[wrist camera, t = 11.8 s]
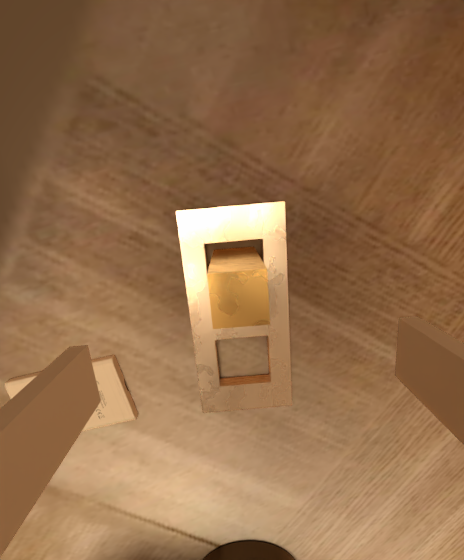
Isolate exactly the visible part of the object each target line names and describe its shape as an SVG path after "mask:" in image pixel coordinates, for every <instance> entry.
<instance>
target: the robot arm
mask: <svg viewBox="0 0 464 560" xmlns="http://www.w3.org/2000/svg"><path fill="white" fill-rule="evenodd" d="M395 376H396V377H397V378H398V379H399V380H400V381H401V382H402V383H403V384H404V385H405V386H406V387H407V388H408V389H409V390H410V391H411V392H412V393H413V394H414V395H415V396H416V397H417V398H418V399H419V400H420V401H421V402H422V403H423V404H424V405H425V406H426V407H427V408H428V409H429V410H430V411H431V412H432V413H433V414H434V415H435V416H436V417H437V418H438V419H439V420H440V421H441V422H442V423H443V424H444V425H445V426H446V427H447V428H448V429H449V430H450V431H451V432H452V433H453V434H454V435H455V436H456V437H457V438H458V439H459V440H460V441H461V442H462V443H463V444H464V343H463V342H461V341H459V340H457V339H456V338H454V337H452V336H451V335H449V334H447V333H445V332H444V331H442V330H440V329H438V328H437V327H435V326H433V325H432V324H430V323H428V322H426V321H425V320H423V319H421V318H419V317H418V316H413V317H402V318H399V323H398V337H397V352H396V367H395ZM100 402H101V399H100V395H99V391H98V386H97V382H96V378H95V374H94V370H93V365H92V361H91V357H90V353H89V349H88V345H83V346H72V347H69V348H68V349H66V350H65V351H64V352H63V353H62V354H61V355H60V356H59V357H57V358H56V359H55V360H54V361H53V362H52V363H51V364H50V365H49V366H47V367H46V368H45V369H44V370H43V371H42V372H41V373H40V374H39V375H37V376H36V377H35V378H34V379H33V380H32V381H31V382H30V383H28V384H27V385H26V386H25V387H24V388H23V389H22V390H21V391H20V392H18V393H17V394H16V395H15V396H14V397H13V398H12V399H11V400H9V401H8V402H7V403H6V404H5V405H4V406H3V407H2V408H1V409H0V557H1V556H2V554H3V553H4V551H5V549H6V548H7V546H8V545H9V543H10V542H11V540H12V539H13V537H14V535H15V534H16V532H17V531H18V529H19V528H20V526H21V525H22V523H23V521H24V520H25V518H26V517H27V515H28V514H29V512H30V511H31V509H32V507H33V506H34V504H35V503H36V501H37V500H38V498H39V497H40V495H41V493H42V492H43V490H44V489H45V487H46V486H47V484H48V483H49V481H50V480H51V478H52V476H53V475H54V473H55V472H56V470H57V469H58V467H59V466H60V464H61V462H62V461H63V459H64V458H65V456H66V455H67V453H68V452H69V450H70V448H71V447H72V445H73V444H74V442H75V441H76V439H77V438H78V436H79V434H80V433H81V431H82V430H83V428H84V427H85V425H86V424H87V422H88V420H89V419H90V417H91V416H92V414H93V413H94V411H95V410H96V408H97V406H98V405H99V403H100ZM203 560H295V559H294V558H293V557H292V556H291V555H290V554H289V553H287V552H286V551H285V550H283V549H281V548H279V547H277V546H274V545H272V544H268V543H264V542H256V541H244V542H237V543H232V544H228V545H225V546H223V547H220V548H218V549H216V550H215V551H213V552H211V553H210V554H209V555H208V556H206V557H205V558H204V559H203Z"/></svg>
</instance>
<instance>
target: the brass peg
mask: <svg viewBox="0 0 464 560" xmlns="http://www.w3.org/2000/svg"><path fill="white" fill-rule="evenodd" d="M207 279H208V288H209V297H210V307H211V316H212V326H213V329H221V328H233V327H246V326H258V325H270V315H269V294H268V273H267V268H266V266H265V264H264V263H263V261H262V259H261V258H260V256H259V254H258V253H257V251H256V250H255V248H254V246H253V247H241V248H229V249H216V250H214V251H213V254H212V258H211V261H210V265H209V268H208V272H207Z"/></svg>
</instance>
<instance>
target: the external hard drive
mask: <svg viewBox="0 0 464 560" xmlns="http://www.w3.org/2000/svg"><path fill="white" fill-rule="evenodd" d="M91 361H92V365H93V370H94V374H95V378H96V382H97V386H98V391H99V395H100V399H101V402H100V403H99V405H98V406H97V408H96V410H95V411H94V413H93V414H92V416H91V417H90V419H89V420H88V422H87V424H86V425H85V427H84V428H83V430H82V431H86V430H90V429H95V428H99V427H104V426H108V425H112V424H116V423H121V422H125V421H130V420H134V419H137V417H138V412H137V410H136V407H135V405H134V402H133V400H132V397H131V395H130V392H129V391H128V390H127V388H126V386H125V383H124V381H125V379H124V377H123V374H122V372H121V369H120V367H119V364H118V362H117V359H116V357H115V355H111V356H106V357H102V358H98V359H93V360H91ZM40 373H41V372H37V373H33V374H29V375H24V376H20V377H16V378H12V379H9V380H8V381H7V382H6V383H5V388H6V391H7V392H8V394H9V396H10V398H11V399H12V398H13V397H14V396H15V395H16V394H17V393H18V392H20V391H21V390H22V389H23V388H24V387H25V386H26V385H27V384H28V383H30V382H31V381H32V380H33V379H34V378H35V377H36V376H37V375H39V374H40Z"/></svg>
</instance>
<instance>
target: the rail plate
mask: <svg viewBox="0 0 464 560" xmlns="http://www.w3.org/2000/svg"><path fill="white" fill-rule="evenodd" d="M176 217H177V225H178V232H179V239H180V247H181V254H182V262H183V269H184V276H185V284H186V291H187V299H188V306H189V314H190V321H191V328H192V336H193V343H194V351H195V358H196V365H197V373H198V380H199V388H200V395H201V402H202V410H203V413H207V412H219V411H231V410H243V409H255V408H266V407H278V406H290V405H292V387H291V359H290V330H289V302H288V274H287V246H286V218H285V201H281V202H270V203H258V204H247V205H236V206H225V207H214V208H203V209H191V210H180V211H176ZM252 239H261V245H262V261H263V263H264V264H265V266H266V268H267V273H268V294H269V315H270V325H258V326H246V327H233V328H221V329H213V326H212V316H211V307H210V297H209V288H208V279H207V272H208V266H207V257H206V248H205V244H207V243H218V242H230V241H241V240H252ZM265 335H267V347H268V364H269V374H264V375H253V376H241V377H229V378H220V373H219V364H218V355H217V346H216V340H219V339H231V338H242V337H254V336H265Z"/></svg>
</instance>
